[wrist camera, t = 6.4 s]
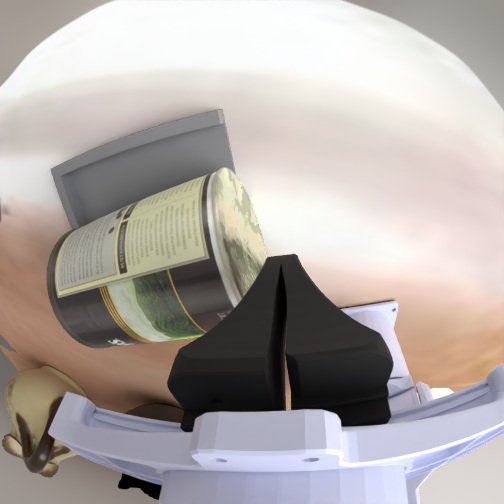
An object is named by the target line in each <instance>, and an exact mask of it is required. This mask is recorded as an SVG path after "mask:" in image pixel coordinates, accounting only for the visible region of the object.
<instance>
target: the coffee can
mask: <svg viewBox="0 0 504 504" xmlns="http://www.w3.org/2000/svg"><path fill="white" fill-rule="evenodd" d="M266 259H267V254H266V250H265V245H264V241H263V238H262V234H261V230H260V228H259V224H258V221H257V218H256V215H255V212H254V210H253V207H252V204H251V202H250V199H249V197H248V195H247V193H246V191H245V189H244V187H243V186H242V184H241V182H240V180H239V179H238V177H237V176H236V175H235V174H234V172H233V171H232V170H230V169H229V168H226V167H225V168H221V169H219V170H218V171H217V172H213V173H210V174H208V175H205V176H202V177H199V178H196V179H193V180H191V181H188V182H185V183H183V184H180V185H178V186H175V187H172V188H170V189H167V190H164V191H162V192H159V193H157V194H155V195H152V196H150V197H147V198H145V199H142V200H140V201H137V202H135V203H133V204H131V205H128V206H126V207H124V208H121V209H119V210H117V211H115V212H112V213H110V214H108V215H106V216H104V217H101V218H99V219H97V220H95V221H93V222H91V223H89V224H87V225H85V226H83V227H79V228H76V229H73V230H71V231H69V232H67V233H66V234H64V235H63V236H62V237H61V238H60V239H59V241H58V242H57V243H56V245H55V246H54V248H53V250H52V253H51V255H50V258H49V263H48V268H47V288H48V294H49V299H50V302H51V305H52V308H53V311H54V313H55V315H56V317H57V319H58V321H59V322H60V324H61V325H62V327H63V328H64V329H65V330H66V332H67V333H68V334H69V335H70V336H71V337H72V338H74V339H75V340H76V341H78V342H79V343H81V344H83V345H85V346H88V347H91V348H107V347H111V346H121V345H135V344H145V343H154V342H162V341H171V340H180V339H187V338H194V337H201V336H202V335H204V334H205V333H206V332H208V331H209V330H211V329H212V328H213V327H214V326H216V325H217V324H218V323H219V322H220V321H221V320H223V319H224V318H225V317H226V316H227V315H228V314H229V313H230V312H231V311H232V310H233V309H234V308H235V307H236V305H237V304H238V303H239V302H240V301H241V299H242V298H243V297H244V296H245V294H246V293H247V291H248V290H249V289H250V287H251V286H252V284H253V283H254V281H255V279H256V278H257V276H258V274H259V272H260V271H261V269H262V267H263V265H264V263H265V260H266Z"/></svg>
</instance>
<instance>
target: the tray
mask: <svg viewBox="0 0 504 504" xmlns="http://www.w3.org/2000/svg"><path fill="white" fill-rule="evenodd" d="M225 167H226V168H229V169H230V170H232V171H233V172H234V174H235V175H236V173H235V168H234V163H233V158H232V153H231V149H230V144H229V139H228V134H227V129H226V124H225V120H224V115H223V110H216V111H211V112H207V113H203V114H199V115H195V116H191V117H187V118H183V119H179V120H176V121H172V122H169V123H165V124H162V125H159V126H156V127H152V128H149V129H146V130H143V131H140V132H137V133H134V134H131V135H129V136H126V137H123V138H120V139H118V140H115V141H112V142H110V143H107V144H105V145H102V146H100V147H97V148H95V149H93V150H90V151H88V152H86V153H83V154H81V155H79V156H77V157H75V158H72V159H70V160H68V161H66V162H64V163H62V164H60V165H58V166H56V167H54V168H52V169H51V172H52V175H53V178H54V181H55V184H56V187H57V190H58V193H59V196H60V199H61V201H62V204H63V207H64V209H65V212H66V215H67V217H68V220H69V222H70V225H71V227H72V229H76V228H79V227H83V226H85V225H87V224H89V223H91V222H93V221H95V220H97V219H99V218H101V217H104V216H106V215H108V214H110V213H112V212H115V211H117V210H119V209H121V208H124V207H126V206H128V205H131V204H133V203H135V202H137V201H140V200H142V199H145V198H147V197H150V196H152V195H155V194H157V193H159V192H162V191H164V190H167V189H170V188H172V187H175V186H178V185H180V184H183V183H185V182H188V181H191V180H193V179H196V178H199V177H202V176H205V175H208V174H210V173H213V172H217V171H218V170H219V169H221V168H225Z"/></svg>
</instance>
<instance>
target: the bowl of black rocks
mask: <svg viewBox="0 0 504 504" xmlns="http://www.w3.org/2000/svg"><path fill="white" fill-rule="evenodd" d="M183 413H184V410H182V409H179V408H176V407H173V406H168V405H160V404H152V405H144V406H140V407H137V408H134V409H132V410H130V411H128V412H126V413H124V414H127V415H132V416H137V417H142V418H148V419H154V420H160V421H167V422H175V423H181V421H182V417H183ZM118 487H119V488H120V489H129V488H130V487H132V488H133V487H134V488H140V489H141V490H142V491H143V492H144V493H145V494H148V495H149V496H150V497H152V498H154V499H157V500H159V497H160V493H161V488H162V485H159V484H155V483H152V482H149V481H145V480H142V479H139V478H136V477H133V476H130V475H127V474H124V473H122V478H121V480H120V481H119V485H118Z"/></svg>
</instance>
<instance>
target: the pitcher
mask: <svg viewBox="0 0 504 504" xmlns="http://www.w3.org/2000/svg"><path fill="white" fill-rule="evenodd" d="M66 392H71V393H74V394H77V395H81V396H83V397H85V398H86V393H85V392H84V390H83V389H82V388H81V387H80V386H79V385H78V384H77V383H75V382H74V381H73V380H72V379H71V378H69V377H68V376H66V375H65V374H63V373H62V372H60V371H58V370H57V369H55V368H53V367H50V366H43V367H42V368H40V369H27V370H23V371H20V372H18V373H17V374H15V375H14V376H13V377H12V378H11V379H10V380H9V382H8V383H7V386H6V389H5V403H6V408H7V412H8V415H9V418H10V423H11V432H10V433H9V434H6V435H5V436H4V439H3V440H2V443H3V444H2V445H3V447H4V449H5V451H7V452H8V453H10V454H12V455H14V456H17V457H19V458H22V459H23V460H24V462H25V464H26V467H27V468H28V469H29V471H30V472H32V473H39V474H41V475H42V476H45V477H49V478H50V477H53V475H55V473H57V471H58V468H59V466H58V462H59V461H60V460H62V459H65V458H68V457H71V456H75V455H77V453H76V452H74V451H72V450H71V449H69V448H68V447H66V446H65V445H63V444H62V443H60V442H59V441H58V440H56V439H55V438H53V437H52V436H51V435H49V433H48V431H49V429H50V426H51V424H52V422H53V419H54V417H55V415H56V413H57V411H58V409H59V406H60V404H61V402H62V400H63V398H64V396H65V394H66Z"/></svg>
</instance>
